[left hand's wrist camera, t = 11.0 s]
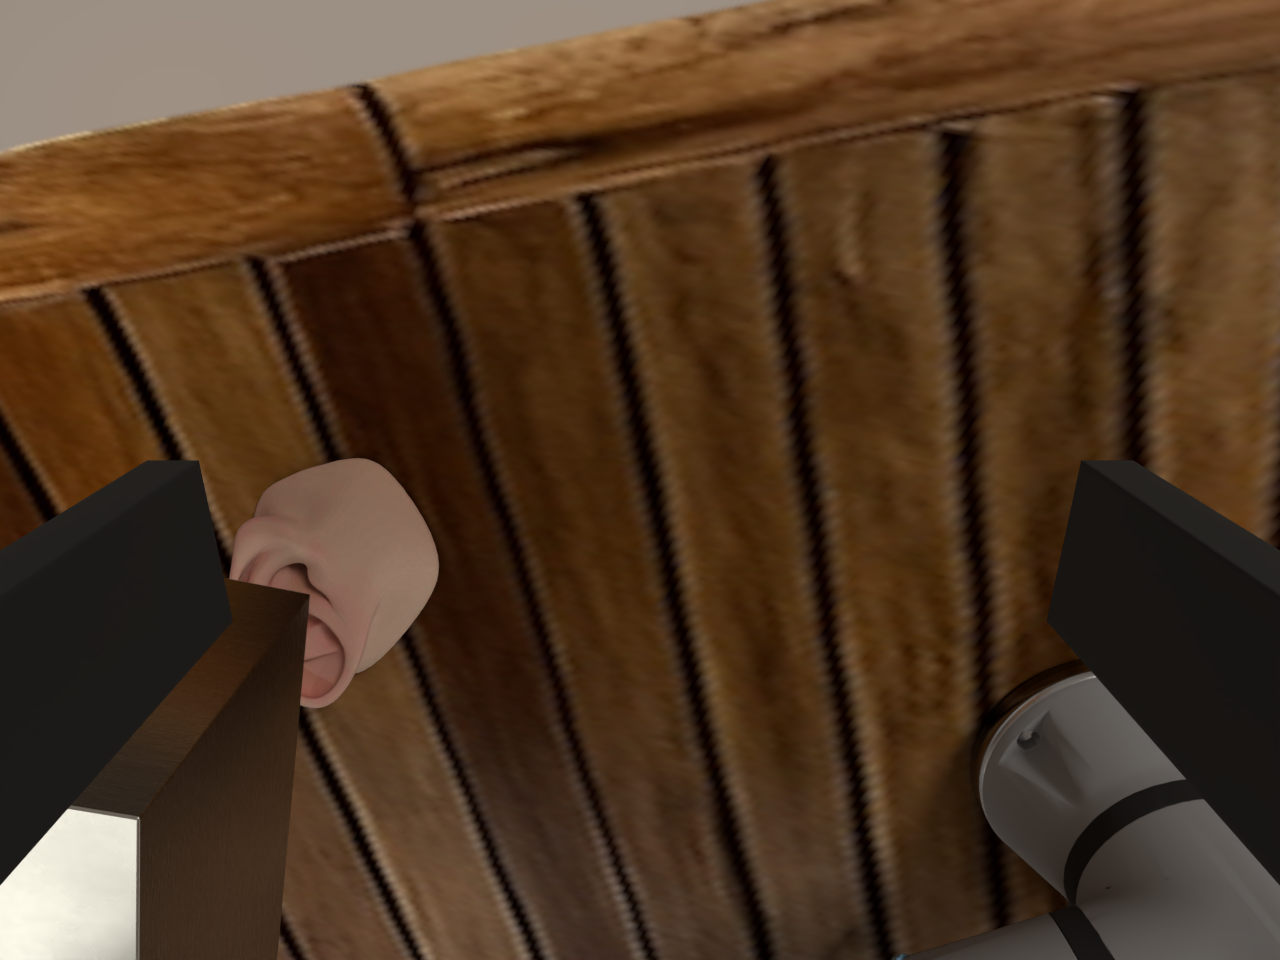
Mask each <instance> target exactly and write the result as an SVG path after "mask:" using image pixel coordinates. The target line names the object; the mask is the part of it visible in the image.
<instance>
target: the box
mask: <svg viewBox="0 0 1280 960" xmlns="http://www.w3.org/2000/svg"><path fill="white" fill-rule="evenodd" d="M224 581H225V586H226V590H227V595H228V600H229V604H230V609H231V614H232V618H233V622H232V623H231V624H230V625H229V626H228V627H227V628H226V630H225V631H224V632H223V633H222V634H221V635H220V636H219V638H218V639H217V640H216V641H215V642H214V643H213V644H212V645H211V647H210V648H209V649H208V650H207V651H206V652H205V653H204V655H203V656H202V657H201V658H200V659H199V660H198V661H197V663H196V664H195V665H194V666H193V667H192V668H191V669H190V671H189V672H188V673H187V674H186V675H185V676H184V677H183V678H182V680H181V681H180V682H179V683H178V684H177V685H176V686H175V688H174V689H173V690H172V691H171V692H170V693H169V694H168V696H167V697H166V698H165V699H164V700H163V701H162V702H161V703H160V705H159V706H158V707H157V708H156V709H155V710H154V711H153V713H152V714H151V715H150V716H149V717H148V718H147V719H146V721H145V722H144V723H143V724H142V725H141V726H140V727H139V728H138V730H137V731H136V732H135V733H134V734H133V735H132V736H131V738H130V739H129V740H128V741H127V742H126V743H125V744H124V746H123V747H122V748H121V749H120V750H119V751H118V752H117V753H116V755H115V756H114V757H113V758H112V759H111V760H110V761H109V763H108V764H107V765H106V766H105V767H104V768H103V769H102V771H101V772H100V773H99V774H98V775H97V776H96V777H95V778H94V780H93V781H92V782H91V783H90V784H89V785H88V786H87V788H86V789H85V790H84V791H83V792H82V793H81V794H80V796H79V797H78V798H77V799H76V800H75V801H74V802H73V804H72V805H71V806H70V807H69V808H68V809H67V810H66V811H65V813H64V814H63V815H62V816H61V817H60V818H59V819H58V821H57V822H56V823H55V824H54V825H53V826H52V827H51V829H50V830H49V831H48V832H47V833H46V834H45V835H44V836H43V838H42V839H41V840H40V841H39V842H38V843H37V844H36V846H35V847H34V848H33V849H32V850H31V851H30V852H29V854H28V855H27V856H26V857H25V858H24V859H23V860H22V861H21V863H20V864H19V865H18V866H17V867H16V868H15V869H14V871H13V872H12V873H11V874H10V875H9V876H8V877H7V879H6V880H5V881H4V882H3V883H2V884H1V885H0V960H277V953H278V942H279V931H280V920H281V909H282V898H283V887H284V876H285V865H286V854H287V843H288V832H289V821H290V810H291V799H292V788H293V777H294V766H295V755H296V744H297V733H298V722H299V711H300V701H301V690H302V679H303V668H304V657H305V646H306V635H307V624H308V613H309V602H310V594H306V593H301V592H296V591H291V590H285V589H280V588H275V587H270V586H264V585H259V584H254V583H249V582H243V581H238V580H233V579H228V578H224Z"/></svg>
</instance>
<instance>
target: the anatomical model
mask: <svg viewBox="0 0 1280 960" xmlns="http://www.w3.org/2000/svg"><path fill="white" fill-rule="evenodd" d="M438 571H439V562H438V554H437V550H436V546H435V544H434V541H433V538H432V535H431V533H430V531H429V529H428V527H427V525H426V523H425V521H424V519H423V517H422V516H421V514H420V512H419V511H418V509H417V508H416V506H415V504H414V503H413V501H412V500H411V499H410V497H409V496H408V494H407V493H406V492H405V490H404V489H403V488H402V486H401V485H400V484H399V483H398V482H397V480H396V479H395V478H394V477H393V476H392V475H391V474H390V473H389V472H388V471H387V470H386V469H385V468H383V467H382V466H381V465H379V464H377V463H376V462H374V461H371V460H368V459H362V458H352V459H345V460H338V461H334V462H330V463H327V464H323V465H319V466H315V467H311V468H308V469H305V470H302V471H299V472H297V473H295V474H293V475H291V476H289V477H286V478H284V479H282V480H280V481H278V482H276V483H274V484H273V485H271V486H270V487H269V488H268V489H267V490H266V491H265V492H264V493H263V494H262V496H261V498H260V500H259V502H258V505H257V508H256V512H255V516H254V518H251V519H249V520H247V521H246V522H245V523H243V524H242V525H241V526H240V528H239V529H238V531H237V534H236V536H235V542H234V549H233V557H232V564H231V571H230V577H229V579H233V580H238V581H243V582H249V583H254V584H259V585H264V586H270V587H275V588H280V589H285V590H291V591H296V592H301V593H306V594H310V602H309V613H308V624H307V635H306V646H305V657H304V668H303V679H302V690H301V701H300V705H301V706H304V707H308V708H322V707H325V706H327V705H329V704H331V703H333V702H334V701H335V700H336V699H337V698H338V697H339V696H340V695H341V694H342V693H343V692H344V691H345V689H346V688H347V686H348V685H349V683H350V682H351V680H352V678H353V676H354V675H355V673H359V672H362V671H364V670H366V669H367V668H369V667H371V666H372V665H373V664H375V663H376V662H377V661H378V660H379V659H381V658H382V657H383V656H384V655H385V654H386V653H387V652H388V651H389V650H390V649H391V648H392V647H393V646H394V644H395V643H396V642H397V641H398V640H399V639H400V638H401V636H402V635H403V634H404V633H405V632H406V630H407V629H408V628H409V627H410V625H411V624H412V623H413V621H414V620H415V619H416V617H417V616H418V615H419V613H420V612H421V610H422V609H423V607H424V606H425V604H426V602H427V601H428V599H429V597H430V596H431V594H432V591H433V589H434V587H435V585H436V581H437V578H438Z"/></svg>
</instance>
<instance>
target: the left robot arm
mask: <svg viewBox="0 0 1280 960" xmlns="http://www.w3.org/2000/svg"><path fill="white" fill-rule="evenodd" d="M232 622H233V618H232V614H231V609H230V604H229V600H228V595H227V590H226V586H225V581H224V576H223V572H222V567H221V562H220V558H219V553H218V548H217V544H216V539H215V534H214V530H213V525H212V520H211V516H210V511H209V506H208V502H207V497H206V492H205V488H204V483H203V478H202V474H201V469H200V464H199V461H146V462H144V463H142V464H141V465H139V466H138V467H136V468H134V469H133V470H131V471H129V472H128V473H126V474H124V475H123V476H121V477H120V478H118V479H116V480H115V481H113V482H111V483H110V484H108V485H107V486H105V487H103V488H102V489H100V490H98V491H97V492H95V493H93V494H92V495H90V496H89V497H87V498H85V499H84V500H82V501H80V502H79V503H77V504H76V505H74V506H72V507H71V508H69V509H67V510H66V511H64V512H62V513H61V514H59V515H58V516H56V517H54V518H53V519H51V520H49V521H48V522H46V523H45V524H43V525H41V526H40V527H38V528H36V529H35V530H33V531H32V532H30V533H28V534H27V535H25V536H23V537H22V538H20V539H18V540H17V541H15V542H14V543H12V544H10V545H9V546H7V547H5V548H4V549H2V550H1V551H0V885H1V884H2V883H3V882H4V881H5V880H6V879H7V877H8V876H9V875H10V874H11V873H12V872H13V871H14V869H15V868H16V867H17V866H18V865H19V864H20V863H21V861H22V860H23V859H24V858H25V857H26V856H27V855H28V854H29V852H30V851H31V850H32V849H33V848H34V847H35V846H36V844H37V843H38V842H39V841H40V840H41V839H42V838H43V836H44V835H45V834H46V833H47V832H48V831H49V830H50V829H51V827H52V826H53V825H54V824H55V823H56V822H57V821H58V819H59V818H60V817H61V816H62V815H63V814H64V813H65V811H66V810H67V809H68V808H69V807H70V806H71V805H72V804H73V802H74V801H75V800H76V799H77V798H78V797H79V796H80V794H81V793H82V792H83V791H84V790H85V789H86V788H87V786H88V785H89V784H90V783H91V782H92V781H93V780H94V778H95V777H96V776H97V775H98V774H99V773H100V772H101V771H102V769H103V768H104V767H105V766H106V765H107V764H108V763H109V761H110V760H111V759H112V758H113V757H114V756H115V755H116V753H117V752H118V751H119V750H120V749H121V748H122V747H123V746H124V744H125V743H126V742H127V741H128V740H129V739H130V738H131V736H132V735H133V734H134V733H135V732H136V731H137V730H138V728H139V727H140V726H141V725H142V724H143V723H144V722H145V721H146V719H147V718H148V717H149V716H150V715H151V714H152V713H153V711H154V710H155V709H156V708H157V707H158V706H159V705H160V703H161V702H162V701H163V700H164V699H165V698H166V697H167V696H168V694H169V693H170V692H171V691H172V690H173V689H174V688H175V686H176V685H177V684H178V683H179V682H180V681H181V680H182V678H183V677H184V676H185V675H186V674H187V673H188V672H189V671H190V669H191V668H192V667H193V666H194V665H195V664H196V663H197V661H198V660H199V659H200V658H201V657H202V656H203V655H204V653H205V652H206V651H207V650H208V649H209V648H210V647H211V645H212V644H213V643H214V642H215V641H216V640H217V639H218V638H219V636H220V635H221V634H222V633H223V632H224V631H225V630H226V628H227V627H228V626H229V625H230V624H231V623H232ZM1047 622H1048V623H1049V624H1050V625H1051V626H1052V627H1053V628H1054V630H1055V631H1056V632H1057V633H1058V634H1059V635H1060V636H1061V638H1062V639H1063V640H1064V641H1065V642H1066V643H1067V644H1068V645H1069V647H1070V648H1071V649H1072V650H1073V651H1074V652H1075V653H1076V655H1077V656H1078V657H1079V658H1080V659H1079V660H1075V661H1071V662H1068V663H1065V664H1062V665H1059V666H1057V667H1054V668H1052V669H1050V670H1047V671H1045V672H1044V673H1042V674H1040V675H1038V676H1036V677H1034V678H1033V679H1031V680H1029V681H1028V682H1026V683H1025V684H1023V685H1022V686H1020V687H1019V688H1018V689H1016V690H1015V691H1014V692H1013V693H1012V694H1010V695H1009V696H1008V697H1007V698H1006V699H1005V700H1004V701H1003V702H1002V703H1001V704H1000V705H999V706H998V707H997V708H996V709H995V711H994V712H993V713H992V714H991V716H990V717H989V718H988V720H987V721H986V723H985V724H984V726H983V728H982V730H981V732H980V734H979V736H978V738H977V741H976V743H975V746H974V750H973V753H972V759H971V771H970V772H971V782H972V787H973V791H974V794H975V796H976V799H977V801H978V803H979V805H980V807H981V808H982V810H983V812H984V814H985V816H986V818H987V820H988V822H989V824H990V826H991V827H992V829H993V830H994V832H995V833H996V834H997V835H998V837H999V838H1000V839H1001V840H1002V841H1003V842H1004V843H1005V844H1007V845H1008V846H1009V847H1010V848H1011V849H1012V850H1013V851H1014V852H1016V853H1017V854H1018V855H1019V856H1020V857H1021V858H1022V859H1023V860H1024V861H1025V862H1027V863H1028V864H1029V865H1030V866H1031V867H1032V868H1033V869H1034V870H1035V871H1036V872H1038V873H1039V874H1040V875H1041V876H1042V877H1043V878H1044V879H1045V880H1046V881H1048V882H1049V883H1050V884H1051V885H1052V886H1053V887H1054V888H1055V889H1056V890H1057V891H1059V892H1060V893H1061V894H1062V895H1063V896H1064V897H1065V898H1066V899H1067V900H1068V904H1067V908H1064V909H1060V910H1057V911H1054V912H1051V913H1048V914H1047V913H1046V914H1043V915H1040V916H1037V917H1034V918H1031V919H1027V920H1024V921H1021V922H1018V923H1015V924H1012V925H1009V926H1005V927H1002V928H999V929H996V930H992V931H989V932H986V933H982V934H979V935H976V936H972V937H969V938H966V939H962V940H959V941H956V942H952V943H949V944H946V945H942V946H939V947H936V948H932V949H929V950H926V951H922V952H919V953H916V954H912V955H906V954H900V955H897V956H895V957H894V958H893V959H892V960H1280V551H1279V550H1278V549H1276V548H1275V547H1273V546H1271V545H1270V544H1268V543H1266V542H1265V541H1263V540H1262V539H1260V538H1258V537H1257V536H1255V535H1253V534H1252V533H1250V532H1248V531H1247V530H1245V529H1244V528H1242V527H1240V526H1239V525H1237V524H1235V523H1234V522H1232V521H1231V520H1229V519H1227V518H1226V517H1224V516H1222V515H1221V514H1219V513H1217V512H1216V511H1214V510H1213V509H1211V508H1209V507H1208V506H1206V505H1204V504H1203V503H1201V502H1200V501H1198V500H1196V499H1195V498H1193V497H1191V496H1190V495H1188V494H1187V493H1185V492H1183V491H1182V490H1180V489H1178V488H1177V487H1175V486H1173V485H1172V484H1170V483H1169V482H1167V481H1165V480H1164V479H1162V478H1160V477H1159V476H1157V475H1156V474H1154V473H1152V472H1151V471H1149V470H1147V469H1146V468H1144V467H1142V466H1141V465H1139V464H1138V463H1136V462H1134V461H1081V464H1080V469H1079V474H1078V478H1077V483H1076V488H1075V492H1074V497H1073V502H1072V506H1071V511H1070V516H1069V520H1068V525H1067V530H1066V534H1065V539H1064V544H1063V548H1062V553H1061V558H1060V562H1059V567H1058V572H1057V576H1056V581H1055V586H1054V590H1053V595H1052V600H1051V604H1050V609H1049V614H1048V618H1047Z"/></svg>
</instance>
